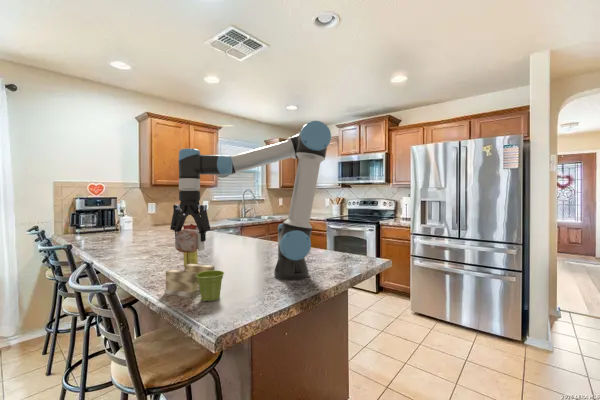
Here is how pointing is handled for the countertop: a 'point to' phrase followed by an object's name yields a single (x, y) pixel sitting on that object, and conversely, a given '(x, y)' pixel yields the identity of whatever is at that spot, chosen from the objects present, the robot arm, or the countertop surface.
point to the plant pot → (210, 284)
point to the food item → (187, 239)
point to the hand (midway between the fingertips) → (190, 249)
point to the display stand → (185, 280)
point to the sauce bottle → (190, 258)
